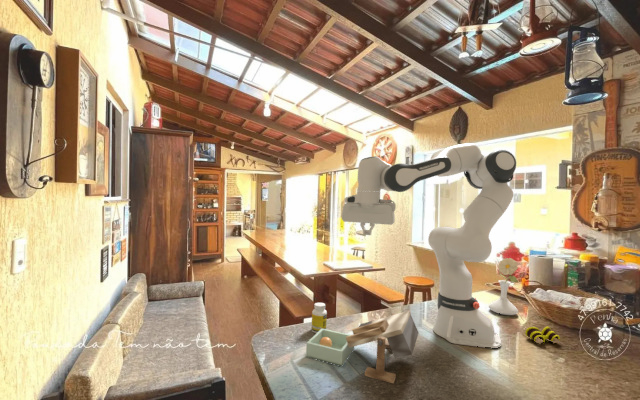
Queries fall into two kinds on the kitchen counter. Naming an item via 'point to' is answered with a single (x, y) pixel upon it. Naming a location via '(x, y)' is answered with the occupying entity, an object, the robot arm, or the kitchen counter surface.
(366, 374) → the lever stand
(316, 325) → the supplement bottle
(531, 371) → the kitchen counter surface
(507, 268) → the flower in vase
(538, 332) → the yellow black striped piece
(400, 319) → the lever
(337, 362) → the green square tray
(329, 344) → the ball
